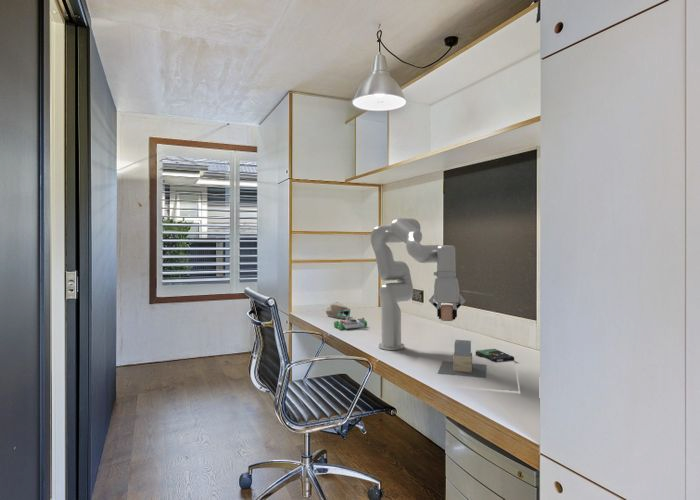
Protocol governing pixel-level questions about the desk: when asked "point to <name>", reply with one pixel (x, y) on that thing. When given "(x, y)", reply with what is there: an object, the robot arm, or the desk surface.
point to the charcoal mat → (477, 371)
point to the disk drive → (494, 355)
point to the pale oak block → (462, 363)
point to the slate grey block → (462, 348)
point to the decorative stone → (336, 310)
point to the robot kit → (349, 321)
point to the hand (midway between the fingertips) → (447, 318)
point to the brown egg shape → (447, 312)
